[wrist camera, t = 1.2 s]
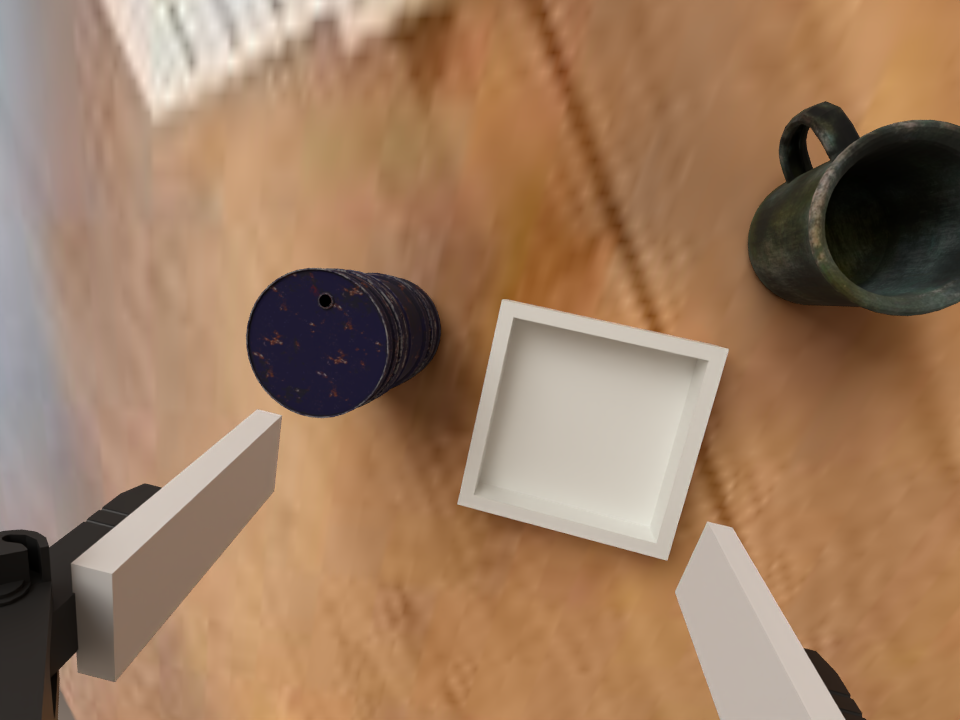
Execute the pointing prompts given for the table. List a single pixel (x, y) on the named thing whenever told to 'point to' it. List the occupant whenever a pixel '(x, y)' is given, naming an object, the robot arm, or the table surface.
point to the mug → (863, 216)
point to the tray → (590, 426)
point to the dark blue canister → (339, 338)
